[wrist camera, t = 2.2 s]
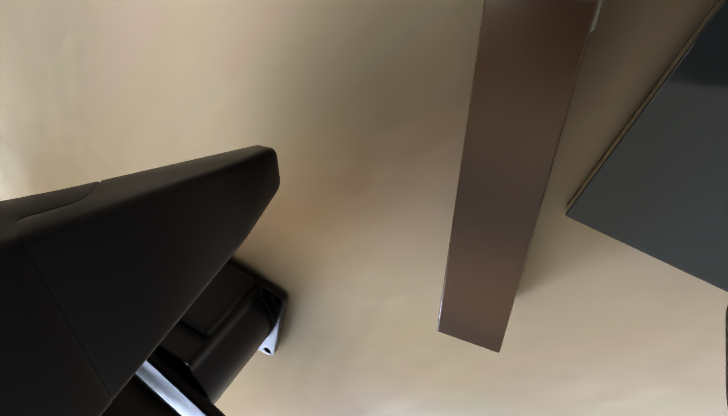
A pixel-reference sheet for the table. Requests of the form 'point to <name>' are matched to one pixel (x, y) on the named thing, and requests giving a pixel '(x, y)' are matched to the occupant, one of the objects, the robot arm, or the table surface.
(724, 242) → the plate
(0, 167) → the table surface
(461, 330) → the spatula
